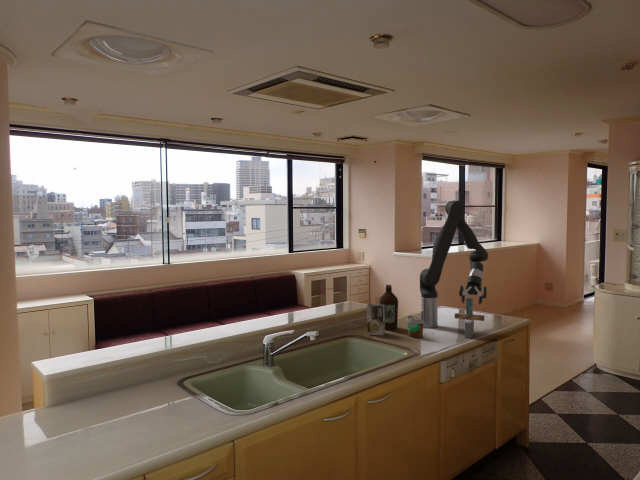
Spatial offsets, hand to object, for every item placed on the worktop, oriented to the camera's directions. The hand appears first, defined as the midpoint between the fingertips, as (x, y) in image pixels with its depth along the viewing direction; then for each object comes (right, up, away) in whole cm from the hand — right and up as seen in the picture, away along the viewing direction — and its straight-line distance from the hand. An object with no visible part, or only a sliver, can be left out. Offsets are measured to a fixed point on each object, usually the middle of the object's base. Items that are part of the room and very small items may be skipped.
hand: (471, 302), depth 261 cm
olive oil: (-43, -17, +15) cm, 48 cm away
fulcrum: (-2, -17, -4) cm, 18 cm away
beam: (-3, -8, -4) cm, 10 cm away
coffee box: (-51, -18, +4) cm, 54 cm away
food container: (-32, -18, -3) cm, 37 cm away
